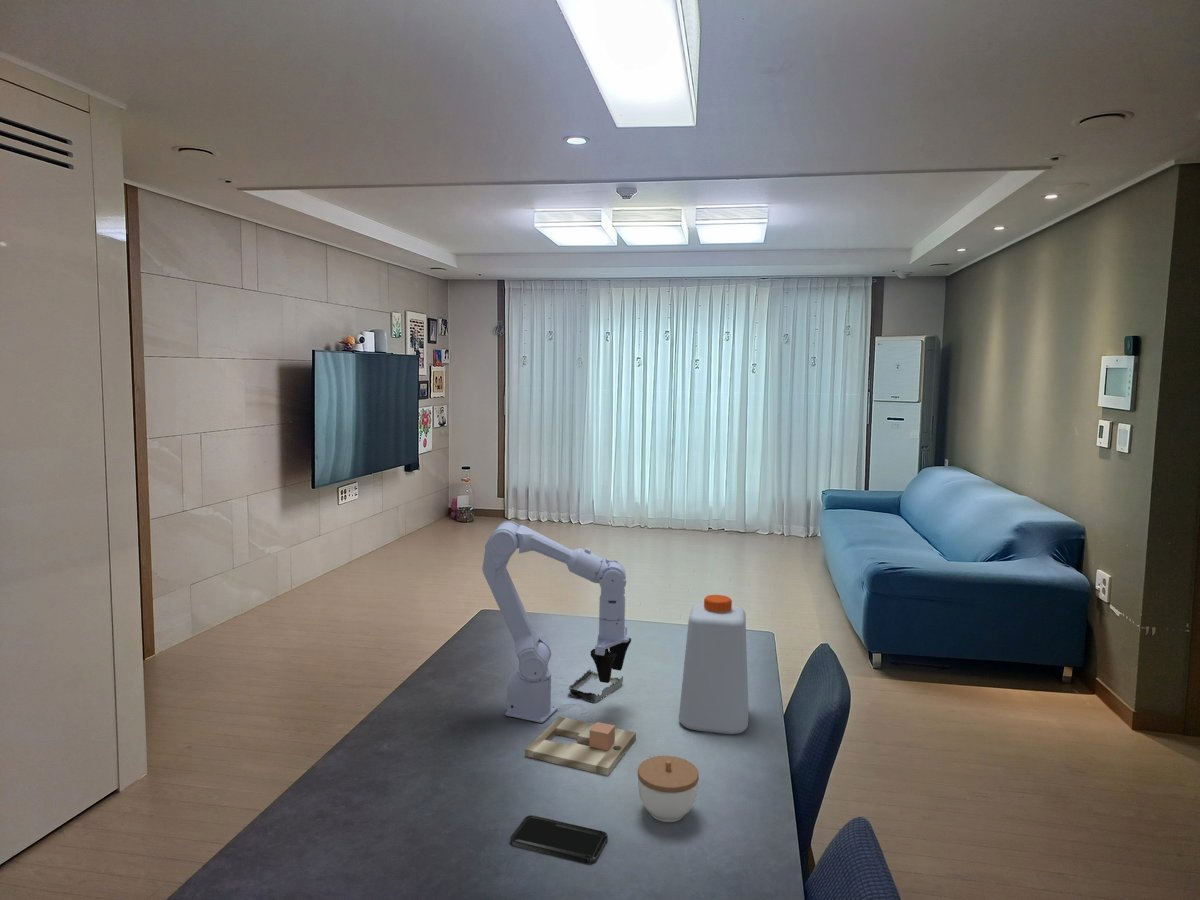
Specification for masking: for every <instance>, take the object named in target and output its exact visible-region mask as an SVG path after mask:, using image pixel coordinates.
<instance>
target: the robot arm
mask: <svg viewBox="0 0 1200 900" xmlns="http://www.w3.org/2000/svg"><path fill="white" fill-rule="evenodd" d="M517 549H518V554H523V553H524V554H525V553H527V552H536V553H539V554H541V555H544V556H545V557H548V558H550V559H553V560H555V561H558V562H561V563H563V564H565V565H566V566H567V569H568V571H569V572H570V573H572V574H574V575H576V576H579V577H581V578H583V579H585V580H587V581H589V582H591V583H592V584H593V583H594V584H599V587H600V595H599V603H598V605H599V607H598V608H599V610H598V611H599V614H598V615H599V616H598V635H597V640H596V641H597V642H596V645H595V647H594V648H593V649H592V650H590V657H591V658H592V660H593V662H594V664H595V667H596V671H597V672H596V673H598V676H599V680H598V681H599V682H600V683H605V684H609V681H610V678H612V676H611V675H612V670H617V671H622V669H623V666H624V663H625V662H624V661H625V657H626V653H627V650H628V649H629V646H630V644H631V642H632V638H631V637H629V636H628V629H627V628H628V627H627V626H625V620H626V617H625V616H626V615H625V614H626V596H625V593H626V585H627V580H626V576H627V575H626V570H625V568H624V566H623V565H622V564H621V563H620V562H618V560H613V559H612V560H611V559H610V558H609V557H606V558H604V557H601V556H599V555H597V554H595V553H592V552H591V549H590V548H588V547H585V548H581V547H578V548H576V549H571V548H569V547H566V546H565V545H562V544H561V543H559V542H557V541H555V540H553V539H551V538H549V537H547V536H545V535H543V534H541V533H539V532H537V531H535V530H534V529H532V528H530V527H528V526H526V525H522V524H520V525H519V524H518V523H517V522H515V521H513V520H504V521H503V522H501V523H499V524H498V526H497V527H496V529H495V530H494V531H493V532H491V535H490V536H489V538H488V539H487V540H486V543H485V545H484V554H483V563H482V567H481V568H482V574H483V576H484V578H485V580H486V583H487V584H488V586H489V588H490V591H491V593H492V595H493V597H494V599H495V602H496V604H497V606H498V609H499V611H500V613H501V615H502V617H503V619H504V622H505V625H506V626H507V628H508V630H509V633H510V634H511V637H512V639H513V642H514V649H515V654H516V657H517V659H518V671H513V672H512V673H511V674H510V676H509V679H508V681H507V686H506V687H507V688H506V689H507V690H506V691H507V695H506V696H507V697H506V699H507V700H506V703H507V705H506V706H507V707H506V708H507V709H506V712H505V716H508V717H511V718H512V717H513V718H516V719H519V720H520V719H521V720H525V721H531V722H534V723H535V722H536V723H541V724H543V723H545V722H546V721H547V720H548V719H549V718H550V717H551V716H552V715H554V713H555V712H556V711H557V710H558V709H559V707H558V706H555V705H551V704H552V703H551V702H552V701H551V700H552V672H551V670H550V668H549V667H548V666H549V661H550V660H551V656H552V650H551V647H550V645H549V644H547V643H546V641H544V640H543V639H542V637H541V636H540V634H539V632H537V631H536V629H535V628H534V626H533V625H532V621H531V619H530V617H529V615H528V613H527V610H526V608H525V607H524V605H523V602H522V599H521V598H520V595H519V593H518V590H517V589H516V587H515V585H514V582H513V580H512V578H511V576H510V573H509V571H508V569H507V565H508V563H509V562H510V559H511V557H512V556H513V554H515V552H516V551H517Z"/></svg>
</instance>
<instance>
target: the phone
mask: <svg viewBox="0 0 1200 900" xmlns="http://www.w3.org/2000/svg"><path fill="white" fill-rule="evenodd" d="M608 835H609V834H608V833H607V832H605V831H603V830H598V829H595V828H589V827H585V826H581V825H577V824H572V823H569V822H564V821H560V820H555V819H550V818H546V817H543V816H542V817H541V816H537V815H533V814H531V815H530V814H529V815H527V816H525V817H524V818H523V820H522V821H521V822H520V823H519V825H518V826H517V827H516V829H515V830H514V832H513V833H512V834H511V836H510V842H509V843H510V845H512V846H513V847H517V848H521V849H525V850H530V851H534V852H538V853H542V854H546V855H549V856H553V857H554V856H555V857H558V858H562V859H567V860H571V861H574V862H579V863H583V864H588V865H592V864H594V863H596V862H597V860H598V858H599V856H600V855H601V854H602V852H603V851H604V848H605V846H606V844H607V842H608V840H609V839H608V838H609V836H608Z"/></svg>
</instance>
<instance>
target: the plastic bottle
mask: <svg viewBox="0 0 1200 900" xmlns="http://www.w3.org/2000/svg"><path fill="white" fill-rule="evenodd" d="M732 602H733V600H732V599H731V598H730V597H729V596H727V595H722V594H709V595H706V596H705V597H704V601H703V603H695V604H694V605H693V606H692V607H691V610H690V612H689V616H688V622H687V623H688V624H687V630H686V631H687V632H686V643H685V651H684V653H685V654H684V661H683V662H684V663H683V664H684V665H683V673H682V683H681V693H680V703H679V713H678V714H679V715H678V720H679V722H680V724H681V725H682V726H683V727H684V728H687V729H689V730H691V731H695V732H696V731H697V732H698V731H699V732H706V733H716V734H725V735H739V734H741V733H743V732H745V731H746V730H747V728H748V725H749V712H750V711H749V709H750V708H749V688H748V687H749V684H748V683H749V681H748V680H749V679H748V652H747V624H746V623H747V622H746V621H747V620H746V612H745V610H744V609H743V607H740V606H737V605H732V604H733V603H732Z"/></svg>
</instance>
